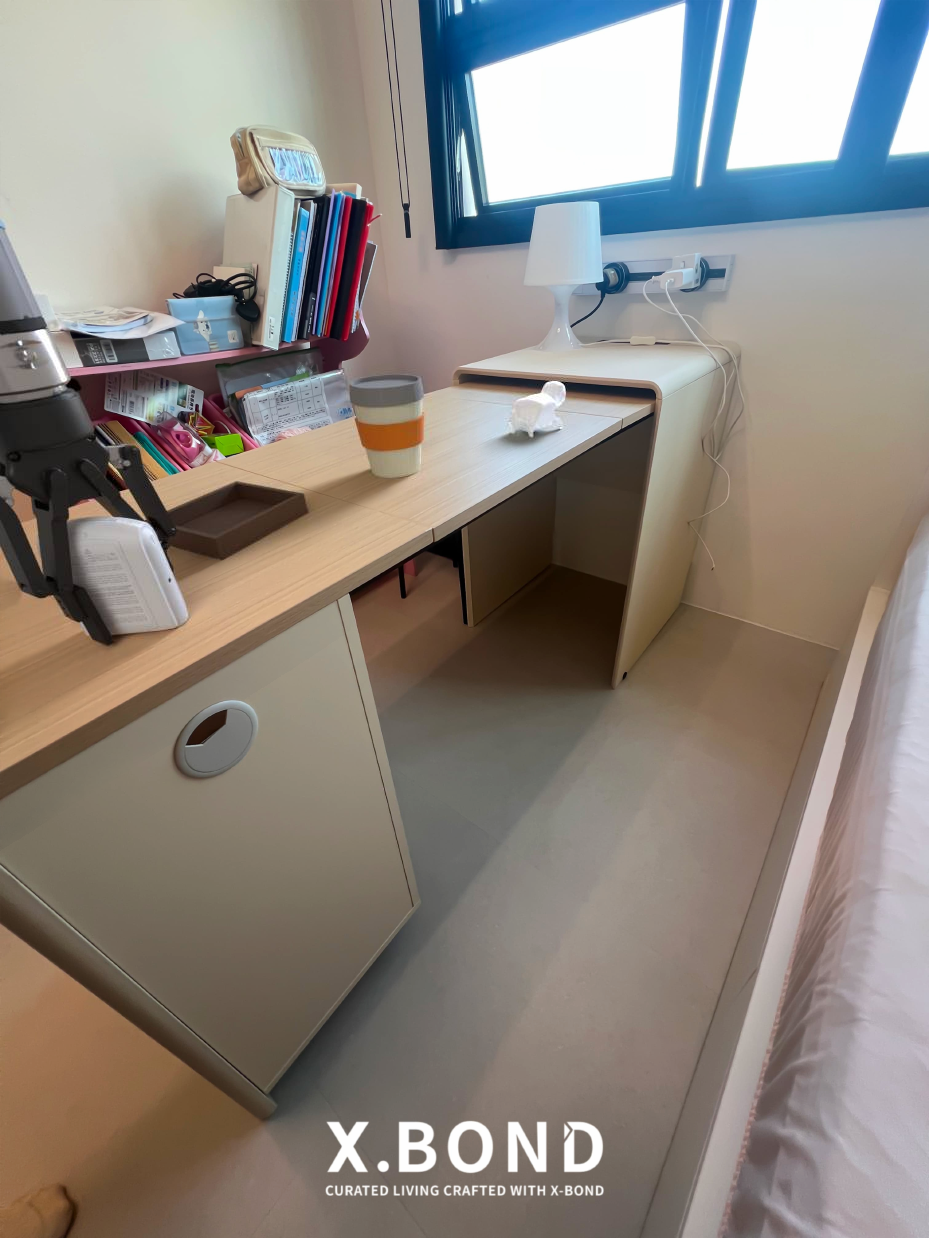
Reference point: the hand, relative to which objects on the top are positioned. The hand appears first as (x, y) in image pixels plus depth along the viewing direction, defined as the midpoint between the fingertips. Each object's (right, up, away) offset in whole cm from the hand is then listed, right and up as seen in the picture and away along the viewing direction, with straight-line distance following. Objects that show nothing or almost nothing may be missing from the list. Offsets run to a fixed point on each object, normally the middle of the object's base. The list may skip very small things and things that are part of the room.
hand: (138, 620), depth 54 cm
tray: (+1, +14, +21) cm, 25 cm away
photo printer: (0, -1, 0) cm, 1 cm away
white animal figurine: (+52, +42, +57) cm, 87 cm away
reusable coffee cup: (+23, +28, +39) cm, 53 cm away
